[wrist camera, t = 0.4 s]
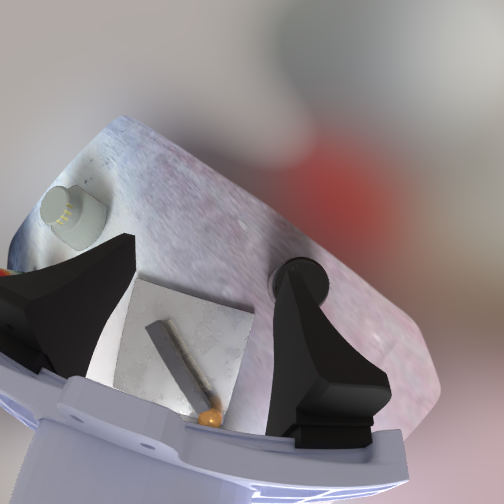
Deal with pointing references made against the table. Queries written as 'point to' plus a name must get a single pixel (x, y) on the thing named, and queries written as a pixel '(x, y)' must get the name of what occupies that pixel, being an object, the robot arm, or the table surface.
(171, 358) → the swing arm
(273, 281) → the supplement bottle
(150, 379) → the square grey plate
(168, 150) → the table surface
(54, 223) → the air freshener
